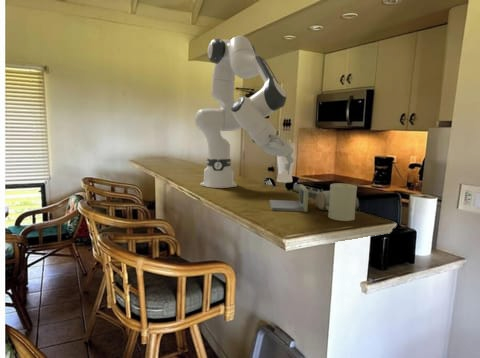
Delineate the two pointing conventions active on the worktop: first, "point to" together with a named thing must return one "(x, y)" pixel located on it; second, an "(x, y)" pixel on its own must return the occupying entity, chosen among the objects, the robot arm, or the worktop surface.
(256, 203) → the worktop surface
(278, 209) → the chute mount
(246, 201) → the worktop surface
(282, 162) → the beer glass
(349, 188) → the can
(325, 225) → the worktop surface
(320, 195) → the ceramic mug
